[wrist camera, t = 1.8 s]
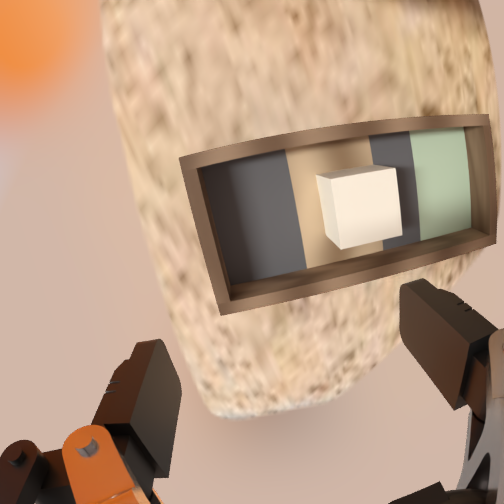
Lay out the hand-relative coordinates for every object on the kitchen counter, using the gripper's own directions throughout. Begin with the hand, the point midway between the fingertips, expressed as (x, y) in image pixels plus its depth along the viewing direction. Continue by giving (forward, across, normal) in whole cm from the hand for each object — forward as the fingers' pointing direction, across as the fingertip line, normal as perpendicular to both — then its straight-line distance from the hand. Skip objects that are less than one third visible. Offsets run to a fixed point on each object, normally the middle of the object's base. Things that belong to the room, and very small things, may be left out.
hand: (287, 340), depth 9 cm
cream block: (+17, -8, 0) cm, 19 cm away
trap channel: (+18, -9, 0) cm, 20 cm away
